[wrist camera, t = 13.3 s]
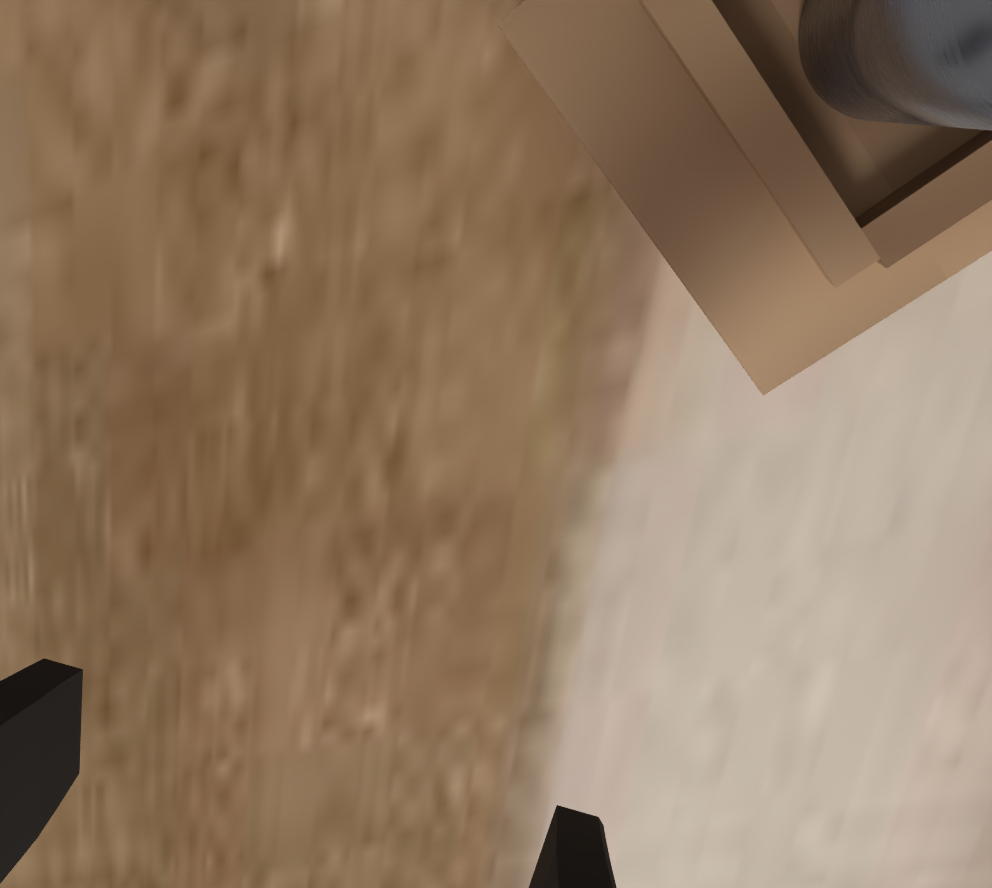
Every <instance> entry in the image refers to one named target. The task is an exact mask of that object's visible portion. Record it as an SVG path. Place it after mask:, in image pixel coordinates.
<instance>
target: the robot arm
mask: <svg viewBox="0 0 992 888" xmlns="http://www.w3.org/2000/svg"><path fill="white" fill-rule="evenodd" d="M82 679H83V669H79V668H76V667H72V666H69V665H65V664H62V663H58V662H55V661H51V660H48V659H42V660H40V661H38V662H36V663H34V664H32V665H30V666H28V667H26V668H24V669H23V670H21V671H19V672H17V673H15V674H13V675H11V676H9V677H7V678H6V679H4V680H2V681H0V883H1V882H2V881H3V879H4V878H5V877H6V876H7V875H8V873H9V872H10V871H11V870H12V868H13V867H14V866H15V865H16V864H17V862H18V861H19V860H20V859H21V857H22V856H23V855H24V854H25V853H26V851H27V850H28V849H29V848H30V846H31V845H32V844H33V843H34V841H35V840H36V839H37V837H38V836H39V834H40V833H41V831H42V830H43V828H44V827H45V825H46V824H47V822H48V821H49V819H50V818H51V816H52V815H53V814H54V812H55V811H56V809H57V807H58V806H59V804H60V803H61V801H62V800H63V798H64V796H65V795H66V793H67V792H68V790H69V788H70V787H71V785H72V784H73V782H74V781H75V779H76V777H77V776H78V774H79V766H80V737H81V708H82ZM529 888H616V884H615V880H614V875H613V871H612V867H611V862H610V858H609V853H608V848H607V843H606V838H605V832H604V826H603V824H602V822H601V821H600V819H599V817H596V816H593V815H589V814H586V813H582V812H579V811H575V810H572V809H568V808H565V807H561V806H558V805H557V806H556V809H555V812H554V815H553V818H552V821H551V824H550V827H549V830H548V833H547V836H546V839H545V842H544V844H543V847H542V850H541V853H540V856H539V859H538V862H537V865H536V868H535V871H534V874H533V877H532V880H531V883H530V886H529Z"/></svg>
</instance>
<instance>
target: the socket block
mask: <svg viewBox="0 0 992 888" xmlns="http://www.w3.org/2000/svg"><path fill="white" fill-rule="evenodd" d="M805 1H806V0H524V1H523V2H522V3H521V4H520V5H519V6H517V7H516V8H515V9H514V10H513V11H512V12H511V13H510V14H509V15H508V16H506V17H505V18H504V19H503V20H502V21H501V22H500V23H499V24H498V25H497V26H498V27H499V28H500V30H501V31H502V33H503V34H504V35H505V37H506V38H507V40H508V41H509V42H510V44H511V45H512V47H513V48H514V49H515V51H516V52H517V53H518V55H519V56H520V58H521V59H522V60H523V62H524V63H525V65H526V66H527V67H528V69H529V70H530V72H531V73H532V74H533V76H534V77H535V79H536V80H537V81H538V83H539V84H540V86H541V87H542V88H543V90H544V91H545V92H546V94H547V95H548V97H549V98H550V99H551V101H552V102H553V104H554V105H555V106H556V108H557V109H558V111H559V112H560V113H561V115H562V116H563V118H564V119H565V120H566V122H567V123H568V124H569V126H570V127H571V129H572V130H573V131H574V133H575V134H576V136H577V137H578V138H579V140H580V141H581V143H582V144H583V145H584V147H585V148H586V150H587V151H588V152H589V154H590V155H591V156H592V158H593V159H594V161H595V162H596V163H597V165H598V166H599V168H600V169H601V170H602V172H603V173H604V175H605V176H606V177H607V179H608V180H609V182H610V183H611V184H612V186H613V187H614V188H615V190H616V191H617V193H618V194H619V195H620V197H621V198H622V200H623V201H624V202H625V204H626V205H627V207H628V208H629V209H630V211H631V212H632V214H633V215H634V216H635V218H636V219H637V220H638V222H639V223H640V225H641V226H642V227H643V229H644V230H645V232H646V233H647V234H648V236H649V237H650V239H651V240H652V241H653V243H654V244H655V246H656V247H657V248H658V250H659V251H660V252H661V254H662V255H663V257H664V258H665V259H666V261H667V262H668V264H669V265H670V266H671V268H672V269H673V271H674V272H675V273H676V275H677V276H678V278H679V279H680V280H681V282H682V283H683V284H684V286H685V287H686V289H687V290H688V291H689V293H690V294H691V296H692V297H693V298H694V300H695V301H696V303H697V304H698V305H699V307H700V308H701V310H702V311H703V312H704V314H705V315H706V316H707V318H708V319H709V321H710V322H711V323H712V325H713V326H714V328H715V329H716V330H717V332H718V333H719V335H720V336H721V337H722V339H723V340H724V342H725V343H726V344H727V346H728V347H729V349H730V350H731V351H732V353H733V354H734V355H735V357H736V358H737V360H738V361H739V362H740V364H741V365H742V367H743V368H744V369H745V371H746V372H747V374H748V375H749V376H750V378H751V379H752V381H753V382H754V383H755V385H756V386H757V387H758V389H759V390H760V392H761V393H762V394H763V395H765V394H766V393H768V392H769V391H771V390H773V389H774V388H776V387H777V386H779V385H780V384H782V383H784V382H785V381H787V380H788V379H790V378H791V377H793V376H795V375H796V374H798V373H799V372H801V371H803V370H804V369H806V368H807V367H809V366H810V365H812V364H814V363H815V362H817V361H818V360H820V359H821V358H823V357H825V356H826V355H828V354H829V353H831V352H832V351H834V350H836V349H837V348H839V347H840V346H842V345H844V344H845V343H847V342H848V341H850V340H851V339H853V338H855V337H856V336H858V335H859V334H861V333H862V332H864V331H866V330H867V329H869V328H870V327H872V326H873V325H875V324H877V323H878V322H880V321H881V320H883V319H884V318H886V317H888V316H889V315H891V314H892V313H894V312H896V311H897V310H899V309H900V308H902V307H903V306H905V305H907V304H908V303H910V302H911V301H913V300H914V299H916V298H918V297H919V296H921V295H922V294H924V293H925V292H927V291H929V290H930V289H932V288H933V287H935V286H937V285H938V284H940V283H941V282H943V281H944V280H946V279H948V278H949V277H951V276H952V275H954V274H955V273H957V272H959V271H960V270H962V269H963V268H965V267H966V266H968V265H970V264H971V263H973V262H974V261H976V260H978V259H979V258H981V257H982V256H984V255H985V254H987V253H989V252H990V251H992V130H979V129H966V128H954V127H941V126H928V125H915V124H902V123H889V122H876V121H866V120H860V119H856V118H852V117H849V116H846V115H844V114H842V113H840V112H838V111H836V110H835V109H833V108H832V107H830V106H829V105H828V104H826V103H825V102H824V101H823V100H822V99H821V98H820V97H819V96H818V95H817V93H816V92H815V91H814V90H813V88H812V86H811V85H810V83H809V81H808V80H807V78H806V75H805V73H804V70H803V67H802V64H801V60H800V55H799V46H798V31H799V24H800V18H801V14H802V10H803V6H804V3H805Z"/></svg>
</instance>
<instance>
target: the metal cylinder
mask: <svg viewBox="0 0 992 888" xmlns="http://www.w3.org/2000/svg"><path fill="white" fill-rule="evenodd" d="M798 46H799V55H800V60H801V64H802V67H803V70H804V73H805V75H806V78H807V80H808V81H809V83H810V85H811V86H812V88H813V90H814V91H815V92H816V93H817V95H818V96H819V97H820V98H821V99H822V100H823V101H824V102H825V103H826V104H828V105H829V106H830V107H832V108H833V109H835V110H836V111H838V112H840V113H842V114H844V115H846V116H849V117H852V118H856V119H860V120H866V121H876V122H889V123H902V124H915V125H928V126H941V127H954V128H966V129H979V130H992V0H806V1H805V3H804V6H803V10H802V14H801V18H800V24H799V31H798Z"/></svg>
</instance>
